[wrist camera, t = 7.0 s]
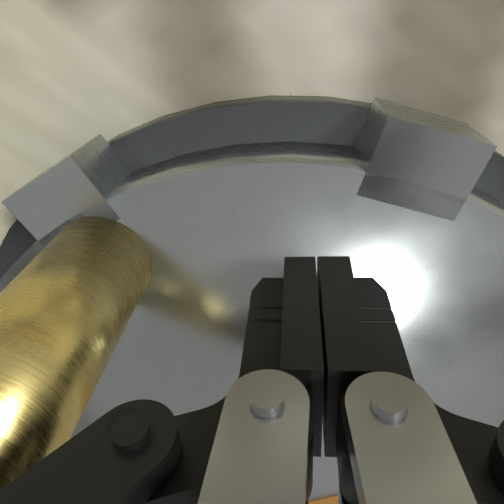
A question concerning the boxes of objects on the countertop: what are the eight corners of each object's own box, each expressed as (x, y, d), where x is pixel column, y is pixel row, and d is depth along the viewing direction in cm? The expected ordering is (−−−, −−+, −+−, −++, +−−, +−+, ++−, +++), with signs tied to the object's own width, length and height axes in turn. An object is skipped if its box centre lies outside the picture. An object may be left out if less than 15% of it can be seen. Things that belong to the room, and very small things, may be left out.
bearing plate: (756, 72, 11) (793, 78, 10) (511, 550, 25) (519, 570, 24) (-123, 115, 14) (-150, 122, 13) (85, 526, 27) (78, 543, 26)
